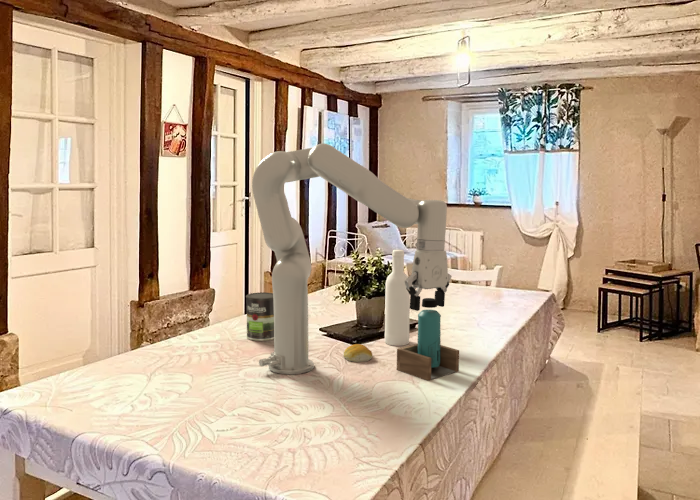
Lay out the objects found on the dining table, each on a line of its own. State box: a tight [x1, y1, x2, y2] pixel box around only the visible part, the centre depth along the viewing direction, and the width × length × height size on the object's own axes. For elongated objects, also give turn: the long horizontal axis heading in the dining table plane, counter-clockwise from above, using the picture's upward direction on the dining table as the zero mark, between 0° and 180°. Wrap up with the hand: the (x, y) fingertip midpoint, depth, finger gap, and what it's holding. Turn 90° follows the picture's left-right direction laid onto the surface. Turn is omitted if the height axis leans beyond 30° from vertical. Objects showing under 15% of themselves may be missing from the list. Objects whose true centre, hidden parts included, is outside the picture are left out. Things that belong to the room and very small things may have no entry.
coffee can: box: [245, 291, 274, 342], centre depth 207 cm, size 10×10×14 cm
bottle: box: [384, 249, 411, 347], centre depth 200 cm, size 8×8×30 cm
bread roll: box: [343, 343, 373, 363], centre depth 186 cm, size 8×9×4 cm
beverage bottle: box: [416, 297, 442, 368], centre depth 173 cm, size 6×7×20 cm
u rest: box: [396, 343, 460, 381], centre depth 174 cm, size 12×12×6 cm
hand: (427, 307), depth 172 cm, fingers open, 9 cm apart
